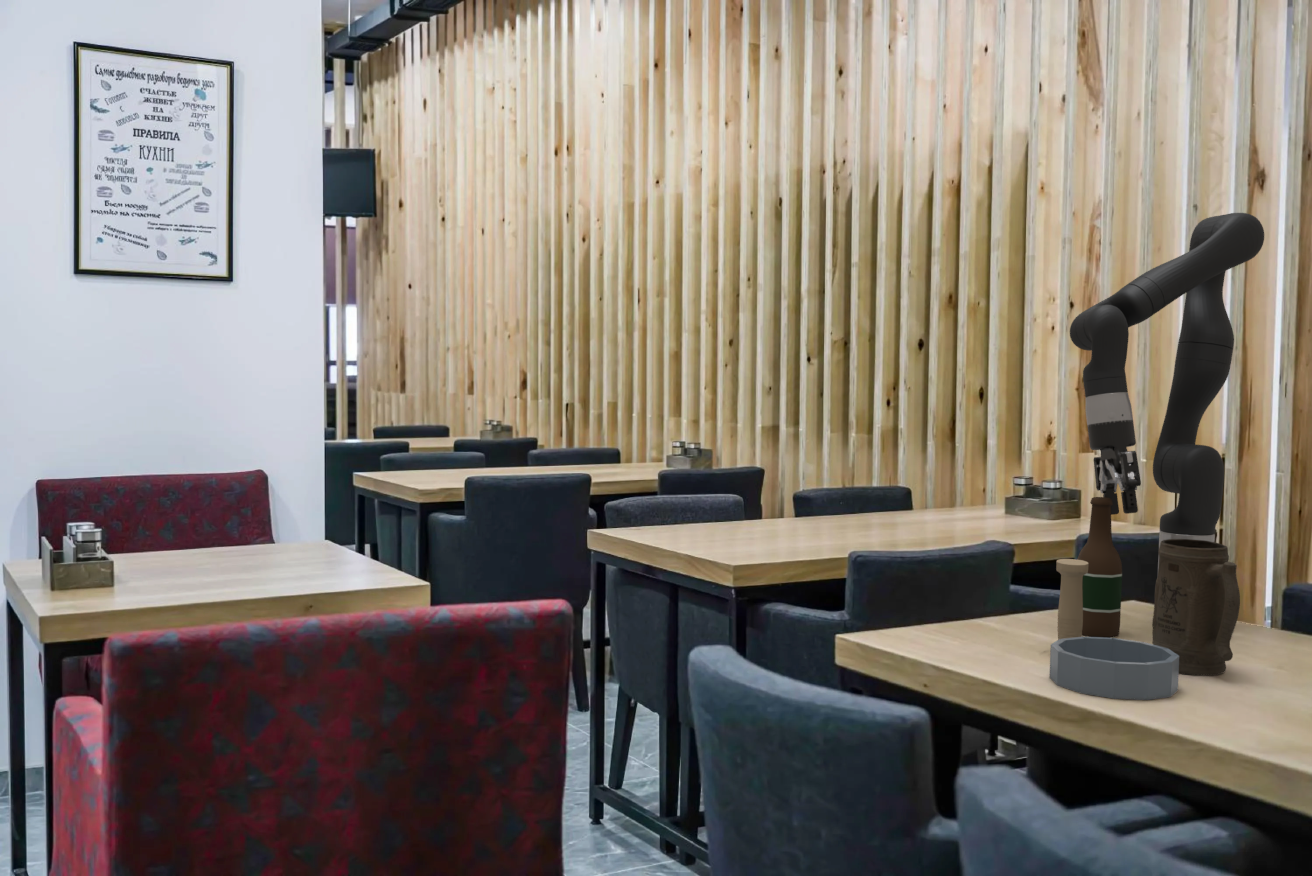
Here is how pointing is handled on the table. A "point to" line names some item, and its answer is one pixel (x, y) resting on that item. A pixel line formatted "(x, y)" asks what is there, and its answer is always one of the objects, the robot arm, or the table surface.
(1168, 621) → the beer stein
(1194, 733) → the table surface
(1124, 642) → the bowl
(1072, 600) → the handle
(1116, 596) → the beer bottle
